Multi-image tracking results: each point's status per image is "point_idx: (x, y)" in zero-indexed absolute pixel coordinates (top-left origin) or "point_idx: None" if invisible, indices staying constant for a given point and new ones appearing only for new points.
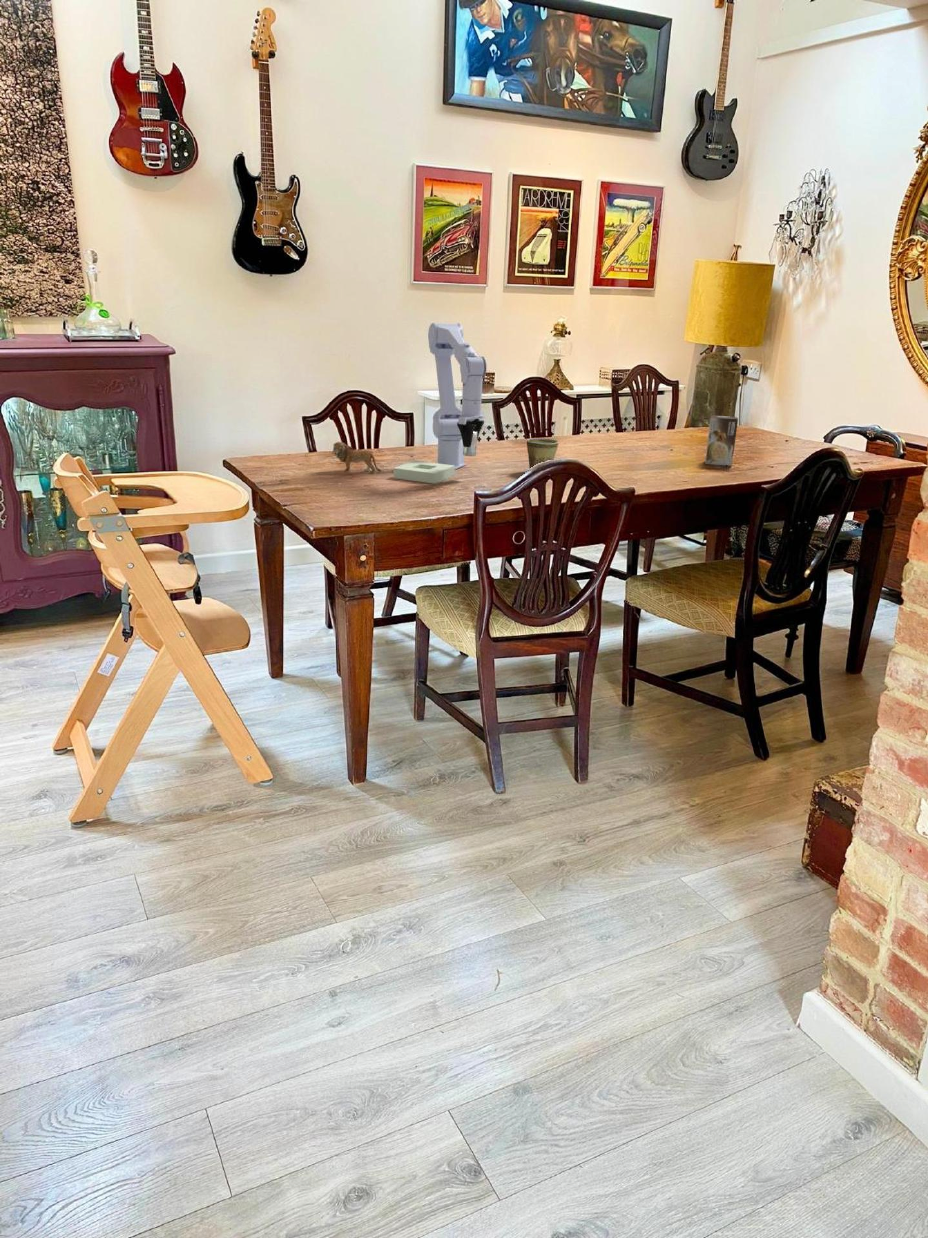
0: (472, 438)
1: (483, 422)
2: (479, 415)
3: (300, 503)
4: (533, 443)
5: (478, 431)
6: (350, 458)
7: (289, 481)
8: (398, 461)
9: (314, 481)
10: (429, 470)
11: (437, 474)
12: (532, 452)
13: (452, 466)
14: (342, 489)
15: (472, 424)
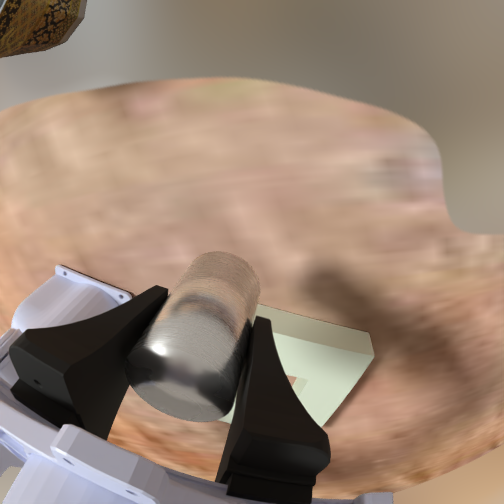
0: (236, 345)
1: (40, 347)
2: (126, 499)
3: (493, 444)
4: (7, 4)
5: (119, 332)
6: None
7: (364, 489)
8: (122, 404)
9: (363, 478)
10: (325, 377)
11: (362, 349)
12: (31, 15)
13: None
14: (425, 448)
15: (269, 459)
